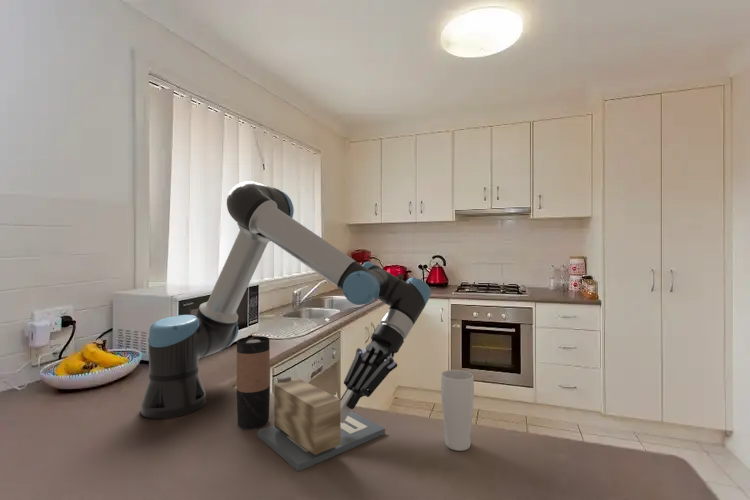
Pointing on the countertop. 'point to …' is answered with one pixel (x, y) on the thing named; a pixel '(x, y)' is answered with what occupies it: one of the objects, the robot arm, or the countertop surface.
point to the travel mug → (253, 382)
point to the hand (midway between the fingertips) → (337, 419)
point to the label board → (300, 457)
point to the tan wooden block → (307, 414)
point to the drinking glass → (457, 408)
